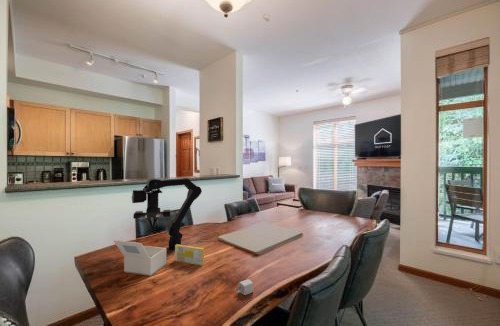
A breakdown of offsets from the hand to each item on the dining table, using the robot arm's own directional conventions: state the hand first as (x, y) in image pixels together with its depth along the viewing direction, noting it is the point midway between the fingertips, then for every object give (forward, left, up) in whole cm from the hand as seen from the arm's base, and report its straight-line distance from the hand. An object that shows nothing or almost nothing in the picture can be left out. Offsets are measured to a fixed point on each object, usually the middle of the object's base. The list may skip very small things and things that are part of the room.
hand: (152, 229), depth 128 cm
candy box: (-19, +18, -13) cm, 29 cm away
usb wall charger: (-39, +51, -13) cm, 65 cm away
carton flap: (+6, +26, 0) cm, 27 cm away
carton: (+1, +18, -13) cm, 23 cm away
